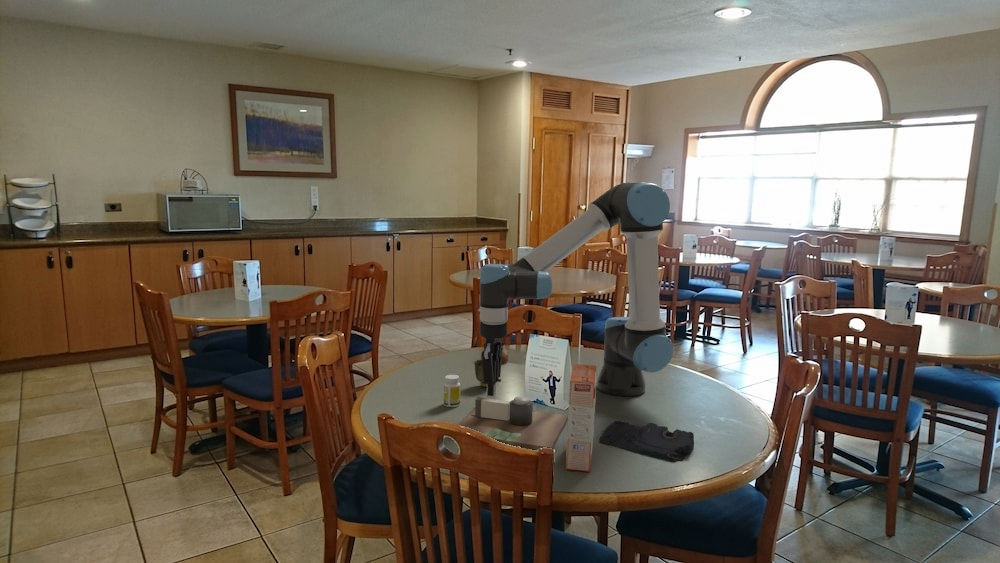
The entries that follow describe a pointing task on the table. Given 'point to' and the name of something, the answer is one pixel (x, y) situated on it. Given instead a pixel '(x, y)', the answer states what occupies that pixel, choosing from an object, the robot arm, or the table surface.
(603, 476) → the table surface
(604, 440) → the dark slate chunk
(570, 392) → the cracker box
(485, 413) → the peg dial
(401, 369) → the table surface
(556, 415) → the brown flat panel
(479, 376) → the cup
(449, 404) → the supplement bottle
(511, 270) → the robot arm
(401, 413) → the table surface
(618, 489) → the table surface
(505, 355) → the bread roll
